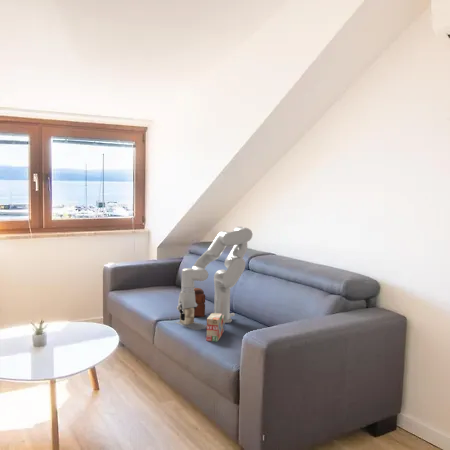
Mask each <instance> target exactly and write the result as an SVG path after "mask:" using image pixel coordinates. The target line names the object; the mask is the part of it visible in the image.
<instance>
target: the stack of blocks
mask: <svg viewBox="0 0 450 450" xmlns="http://www.w3.org/2000/svg"><path fill="white" fill-rule="evenodd" d="M225 324H226V323H225V315H222V314H220V313H214V312H211V313H210V315H209V316H208V317H207V318H206V326H207V328H206V336H205V340H206V341H207V342H216V343H217V342H218V341H219V340H220V339H221V337H222V336H223V333H224V332H225V331H224V330H225V327H226V326H225Z"/></svg>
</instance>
